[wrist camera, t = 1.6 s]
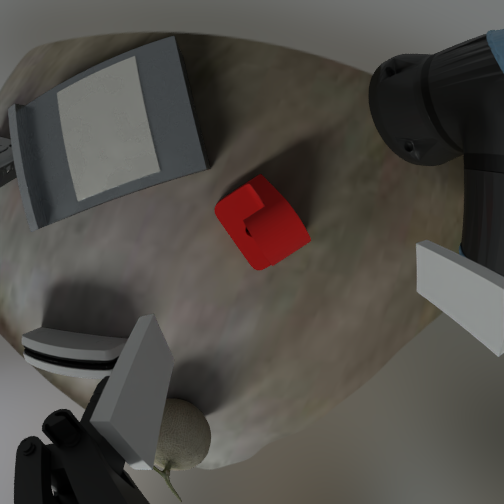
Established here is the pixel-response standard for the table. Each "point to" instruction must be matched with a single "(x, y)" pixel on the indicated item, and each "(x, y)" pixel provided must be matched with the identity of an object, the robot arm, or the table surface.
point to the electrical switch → (6, 162)
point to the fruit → (181, 439)
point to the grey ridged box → (107, 134)
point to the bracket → (261, 223)
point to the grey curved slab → (72, 352)
